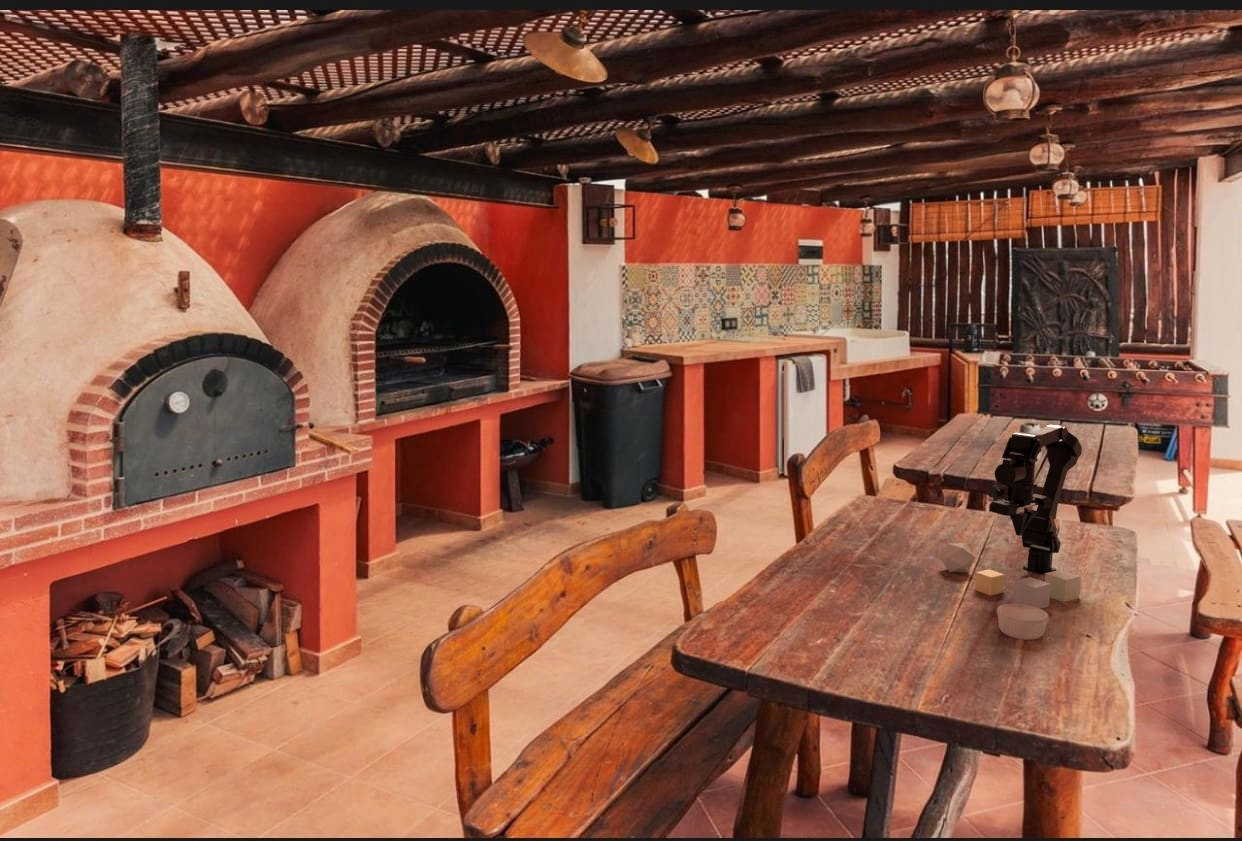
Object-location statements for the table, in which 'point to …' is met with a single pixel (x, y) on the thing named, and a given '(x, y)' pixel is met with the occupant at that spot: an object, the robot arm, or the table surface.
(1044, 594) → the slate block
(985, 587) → the mustard block
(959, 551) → the die
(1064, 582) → the tan cube
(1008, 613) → the ramekin
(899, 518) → the table surface
